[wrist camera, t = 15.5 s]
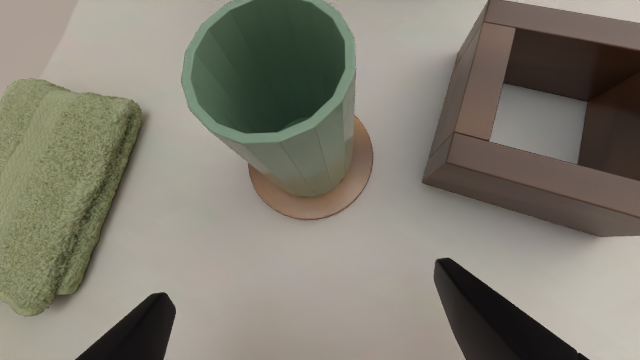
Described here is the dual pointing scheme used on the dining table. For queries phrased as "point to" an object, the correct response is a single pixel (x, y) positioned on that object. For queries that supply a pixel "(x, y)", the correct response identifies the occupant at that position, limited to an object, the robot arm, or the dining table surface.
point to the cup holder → (554, 77)
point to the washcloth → (56, 185)
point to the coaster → (330, 201)
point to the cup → (277, 89)
